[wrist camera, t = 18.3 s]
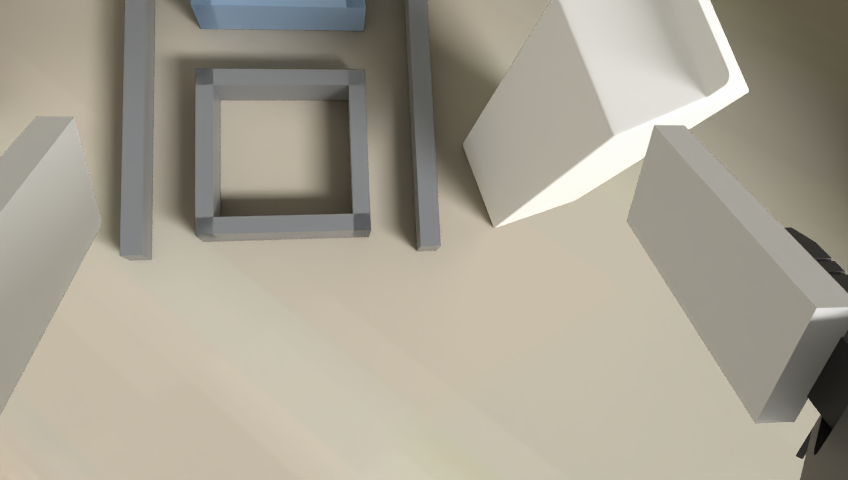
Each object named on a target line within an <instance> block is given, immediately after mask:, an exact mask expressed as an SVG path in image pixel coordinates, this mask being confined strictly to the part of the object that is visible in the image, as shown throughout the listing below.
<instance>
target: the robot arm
mask: <svg viewBox="0 0 848 480" xmlns="http://www.w3.org/2000/svg"><path fill="white" fill-rule="evenodd" d="M627 223H628V224H629V226H630V227H631V229H632V231H633V232H634V234H635V235H636V237H637V238H638V240H639V242H640V243H641V245H642V246H643V248H644V249H645V251H646V252H647V254H648V256H649V257H650V259H651V260H652V262H653V263H654V265H655V267H656V268H657V270H658V271H659V273H660V274H661V276H662V278H663V279H664V281H665V282H666V284H667V285H668V287H669V289H670V290H671V292H672V293H673V295H674V296H675V298H676V300H677V301H678V303H679V304H680V306H681V307H682V309H683V311H684V312H685V314H686V315H687V317H688V318H689V320H690V322H691V323H692V325H693V326H694V328H695V329H696V331H697V333H698V334H699V336H700V337H701V339H702V340H703V342H704V344H705V345H706V347H707V348H708V350H709V351H710V353H711V355H712V356H713V358H714V359H715V361H716V362H717V364H718V366H719V367H720V369H721V370H722V372H723V373H724V375H725V377H726V378H727V380H728V381H729V383H730V384H731V386H732V388H733V389H734V391H735V392H736V394H737V395H738V397H739V399H740V400H741V402H742V403H743V405H744V406H745V408H746V410H747V411H748V413H749V414H750V416H751V417H752V419H753V421H754V422H755V423H776V422H795V420H796V418H797V416H798V415H799V413H800V411H801V410H802V408H803V406H804V404H805V403H806V401H807V399H808V398H809V400H810V401H811V402H812V404H813V405H814V406H815V408H816V409H817V410H818V412H819V413H820V414H821V415H820V417H819V419H818V420H817V422H816V423H815V425H814V427H813V428H812V430H811V432H810V433H809V435H808V437H807V438H806V440H805V441H804V443H803V445H802V446H801V448H800V450H799V451H798V453H797V455H796V456H797V457H799V458H801V459H803V457H804V456H805V455H806V457H805V461H804V466H803V470H802V474H801V478H800V480H848V275H845V274H844V272H845V271H844V270H843V269H842V268H841V267H840V266H839V265H838V264H837V263H836V262H835V261H831V257H830V256H829V255H828V254H827V253H826V252H825V251H824V250H823V249H822V248H821V247H820V246H819V245H818V244H817V243H816V242H814V241H813V240H811V239H809V238H808V237H806V236H804V235H803V234H801V233H799V232H798V231H796V230H794V229H793V228H784V227H783V226H782V225H781V224H780V223H779V222H778V221H777V220H776V219H775V218H774V217H773V216H772V215H771V214H770V213H769V212H768V211H767V210H766V209H765V208H764V207H763V206H762V205H761V204H760V203H759V202H758V201H757V200H756V198H755V197H754V196H753V195H752V194H751V193H750V192H749V191H748V190H747V189H746V188H745V187H744V186H743V185H742V184H741V183H740V182H739V181H738V180H737V179H736V178H735V177H734V176H733V175H732V174H731V173H730V172H729V171H728V170H727V169H726V168H725V167H724V166H723V165H722V164H721V163H720V162H719V161H718V159H717V158H716V157H715V156H714V155H713V154H712V153H711V152H710V151H709V150H708V149H707V148H706V147H705V146H704V145H703V144H702V143H701V142H700V141H699V140H698V139H697V138H696V137H695V136H694V135H693V134H692V133H691V132H690V131H689V130H688V129H687V128H686V127H685V126H684V125H654V127H653V131H652V134H651V138H650V141H649V145H648V148H647V152H646V155H645V159H644V162H643V166H642V169H641V173H640V176H639V180H638V183H637V187H636V190H635V194H634V197H633V201H632V204H631V208H630V211H629V215H628V218H627ZM101 225H102V221H101V217H100V213H99V210H98V206H97V202H96V198H95V194H94V190H93V187H92V183H91V179H90V175H89V171H88V167H87V164H86V160H85V156H84V152H83V148H82V144H81V141H80V137H79V133H78V129H77V125H76V121H75V118H74V117H39V116H37V117H36V118H35V119H34V120H33V121H32V122H31V123H30V124H29V126H28V127H27V128H26V129H25V130H24V131H23V132H22V133H21V135H20V136H19V137H18V138H17V139H16V140H15V141H14V142H13V144H12V145H11V146H10V147H9V148H8V149H7V150H6V151H5V153H4V154H3V155H2V156H1V157H0V415H1V413H2V411H3V409H4V407H5V405H6V404H7V402H8V400H9V398H10V396H11V394H12V392H13V390H14V388H15V387H16V385H17V383H18V381H19V379H20V377H21V375H22V373H23V372H24V370H25V368H26V366H27V364H28V362H29V360H30V358H31V356H32V355H33V353H34V351H35V349H36V347H37V345H38V343H39V341H40V340H41V338H42V336H43V334H44V332H45V330H46V328H47V326H48V324H49V323H50V321H51V319H52V317H53V315H54V313H55V311H56V309H57V308H58V306H59V304H60V302H61V300H62V298H63V296H64V294H65V292H66V291H67V289H68V287H69V285H70V283H71V281H72V279H73V277H74V276H75V274H76V272H77V270H78V268H79V266H80V264H81V262H82V260H83V259H84V257H85V255H86V253H87V251H88V249H89V247H90V245H91V244H92V242H93V240H94V238H95V236H96V234H97V232H98V230H99V229H100V227H101Z"/></svg>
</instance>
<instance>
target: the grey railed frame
mask: <svg viewBox="0 0 848 480" xmlns="http://www.w3.org/2000/svg"><path fill="white" fill-rule="evenodd" d="M404 1H405V21H406V41H407V61H408V81H409V101H410V121H411V141H412V161H413V181H414V201H415V221H416V241H417V251H436V250H437V249H438V248H439V247H440V246H441V242H440V224H439V206H438V188H437V170H436V153H435V135H434V117H433V99H432V81H431V63H430V45H429V27H428V9H427V0H404ZM190 5H191V7H192V9H193V12H194V14H195V16H196V19H197V21H198V24H199V26H200V28H201V29H264V30H336V31H364V24H365V12H366V0H191V2H190ZM154 51H155V0H125V33H124V79H123V125H122V171H121V218H120V256H122V257H124V258H126V259H128V260H152V194H153V123H154ZM220 100H348V114H349V143H350V172H351V201H352V214H317V215H276V216H234V217H221V193H220ZM370 231H371V221H370V196H369V170H368V145H367V119H366V93H365V70H356V69H196V76H195V235H196V236H197V237H198V238H200V239H201V240H202V241H203V242H210V241H245V240H279V239H314V238H348V237H369V234H370Z"/></svg>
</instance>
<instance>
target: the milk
mask: <svg viewBox="0 0 848 480" xmlns="http://www.w3.org/2000/svg"><path fill="white" fill-rule="evenodd" d="M748 92H749V89H748V87H747V84H746V82H745V80H744V77H743V75H742V73H741V70H740V68H739V66H738V64H737V61H736V59H735V57H734V54H733V52H732V50H731V47H730V45H729V43H728V41H727V38H726V36H725V34H724V31H723V29H722V27H721V24H720V22H719V20H718V17H717V15H716V13H715V11H714V8H713V6H712V4H711V1H710V0H551V1H550V3H549V4H548V6H547V8H546V9H545V11H544V13H543V14H542V16H541V17H540V19H539V21H538V22H537V24H536V26H535V27H534V29H533V30H532V32H531V34H530V35H529V37H528V39H527V40H526V42H525V43H524V45H523V47H522V48H521V50H520V52H519V53H518V55H517V56H516V58H515V60H514V61H513V63H512V65H511V66H510V68H509V69H508V71H507V73H506V74H505V76H504V78H503V79H502V81H501V82H500V84H499V86H498V87H497V89H496V91H495V92H494V94H493V95H492V97H491V99H490V100H489V102H488V104H487V105H486V107H485V108H484V110H483V112H482V113H481V115H480V117H479V118H478V120H477V121H476V123H475V125H474V126H473V128H472V130H471V131H470V133H469V134H468V136H467V138H466V139H465V141H464V143H463V148H464V150H465V153H466V156H467V158H468V161H469V164H470V166H471V169H472V172H473V174H474V177H475V179H476V182H477V185H478V187H479V190H480V193H481V195H482V198H483V201H484V203H485V206H486V209H487V211H488V214H489V217H490V219H491V222H492V224H493V227H494V228H497V227H500V226H502V225H505V224H508V223H511V222H514V221H517V220H520V219H523V218H526V217H528V216H531V215H534V214H537V213H540V212H543V211H546V210H549V209H552V208H554V207H557V206H560V205H563V204H566V203H569V202H572V201H575V200H576V199H578V198H580V197H581V196H583V195H584V194H586V193H588V192H589V191H591V190H593V189H594V188H596V187H597V186H599V185H601V184H602V183H604V182H605V181H607V180H609V179H610V178H612V177H613V176H615V175H617V174H618V173H620V172H621V171H623V170H625V169H626V168H628V167H629V166H631V165H633V164H634V163H636V162H637V161H639V160H641V159H642V158H644V157H645V155H646V152H647V148H648V145H649V141H650V138H651V134H652V131H653V127H654V125H684V126H685V127H686V128H687V129H688V130H689V129H690V128H692V127H694V126H695V125H697V124H698V123H700V122H702V121H703V120H705V119H706V118H708V117H710V116H711V115H713V114H714V113H716V112H718V111H719V110H721V109H722V108H724V107H726V106H727V105H729V104H730V103H732V102H734V101H735V100H737V99H738V98H740V97H742V96H743V95H745V94H746V93H748Z"/></svg>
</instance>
